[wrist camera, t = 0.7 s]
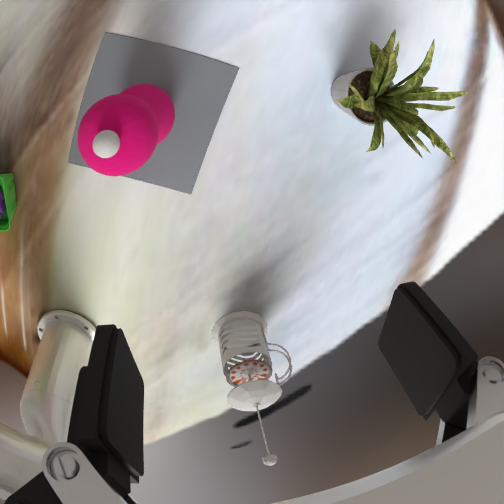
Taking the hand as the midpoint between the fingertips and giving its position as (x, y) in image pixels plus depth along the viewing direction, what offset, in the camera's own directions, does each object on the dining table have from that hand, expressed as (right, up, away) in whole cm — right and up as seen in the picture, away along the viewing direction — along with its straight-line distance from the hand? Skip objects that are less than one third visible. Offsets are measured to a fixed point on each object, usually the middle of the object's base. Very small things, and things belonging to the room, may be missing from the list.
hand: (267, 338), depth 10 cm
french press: (-2, -11, +44) cm, 45 cm away
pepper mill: (-13, +19, +23) cm, 33 cm away
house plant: (+13, +24, +26) cm, 38 cm away
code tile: (-13, +19, +23) cm, 33 cm away
